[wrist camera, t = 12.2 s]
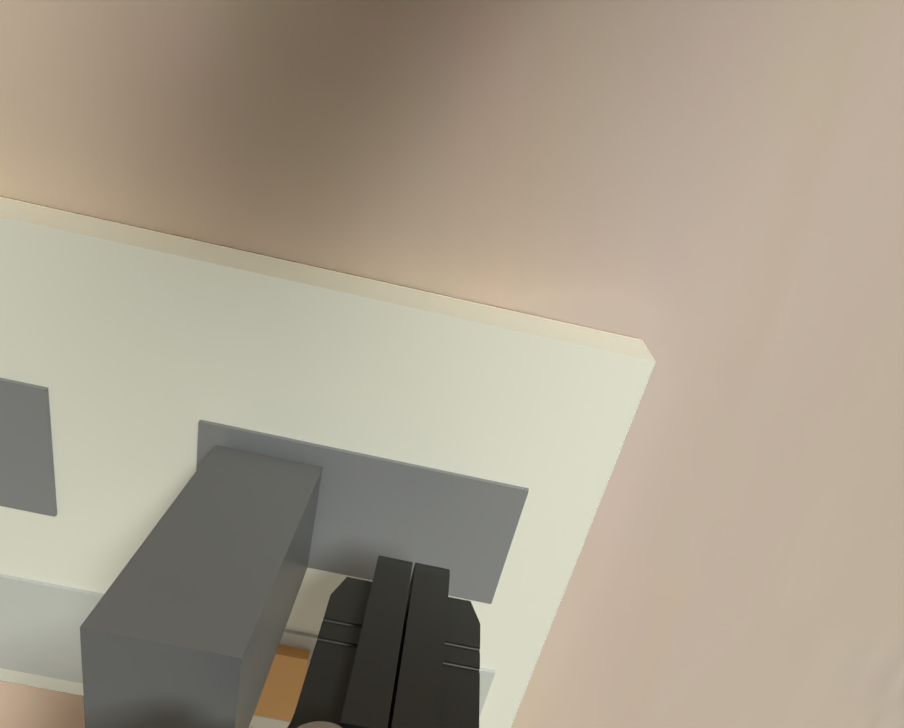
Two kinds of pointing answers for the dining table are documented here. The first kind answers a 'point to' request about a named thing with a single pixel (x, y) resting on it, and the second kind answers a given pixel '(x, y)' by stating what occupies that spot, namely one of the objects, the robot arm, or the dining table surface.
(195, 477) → the switch
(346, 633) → the robot arm
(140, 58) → the dining table surface
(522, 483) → the switch panel
